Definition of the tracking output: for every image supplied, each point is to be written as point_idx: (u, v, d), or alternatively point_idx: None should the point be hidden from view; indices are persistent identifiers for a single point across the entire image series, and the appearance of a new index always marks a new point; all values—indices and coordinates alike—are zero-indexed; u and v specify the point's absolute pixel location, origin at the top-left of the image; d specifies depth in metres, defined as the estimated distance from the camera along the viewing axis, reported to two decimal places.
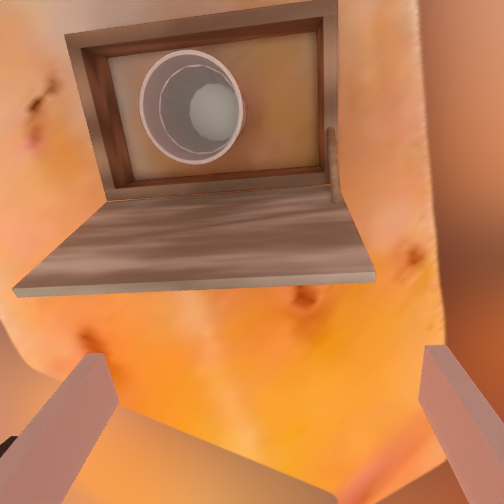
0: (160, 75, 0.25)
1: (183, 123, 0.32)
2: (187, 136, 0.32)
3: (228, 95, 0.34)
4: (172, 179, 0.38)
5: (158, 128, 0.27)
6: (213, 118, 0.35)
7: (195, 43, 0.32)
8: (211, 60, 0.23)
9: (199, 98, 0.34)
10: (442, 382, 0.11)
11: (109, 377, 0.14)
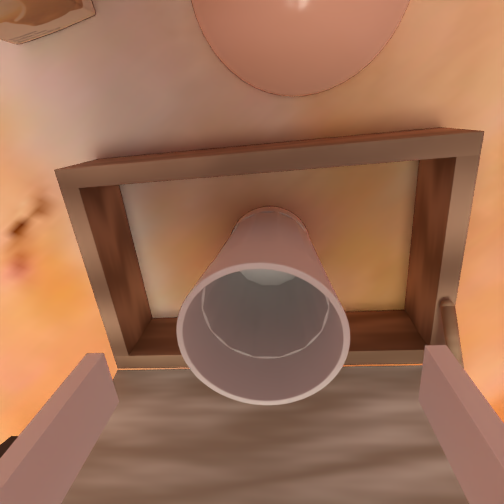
0: None
1: (227, 280, 0.23)
2: (234, 304, 0.22)
3: None
4: None
5: (201, 337, 0.17)
6: None
7: None
8: (303, 278, 0.14)
9: None
10: (442, 382, 0.11)
11: (109, 377, 0.14)
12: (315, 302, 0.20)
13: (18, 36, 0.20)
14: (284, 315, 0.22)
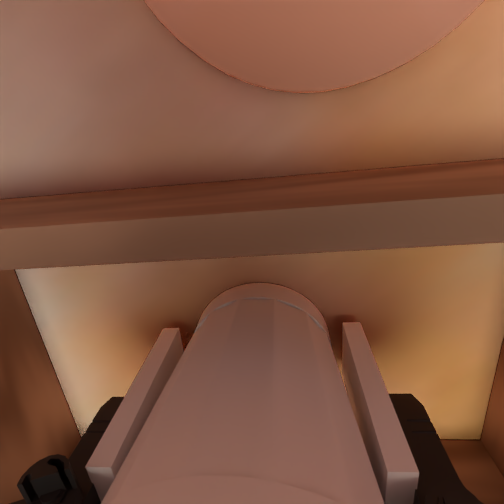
0: None
1: None
2: None
3: None
4: None
5: None
6: None
7: None
8: None
9: None
10: (348, 352, 0.13)
11: (182, 350, 0.15)
12: None
13: None
14: None
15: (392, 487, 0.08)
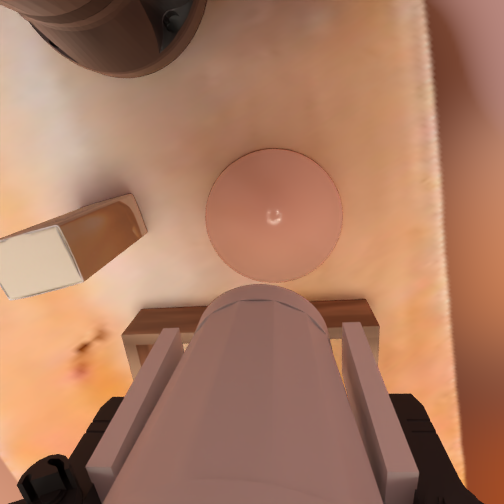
0: None
1: None
2: None
3: None
4: None
5: None
6: None
7: None
8: None
9: None
10: (348, 352, 0.13)
11: (182, 350, 0.15)
12: None
13: None
14: None
15: (392, 487, 0.08)
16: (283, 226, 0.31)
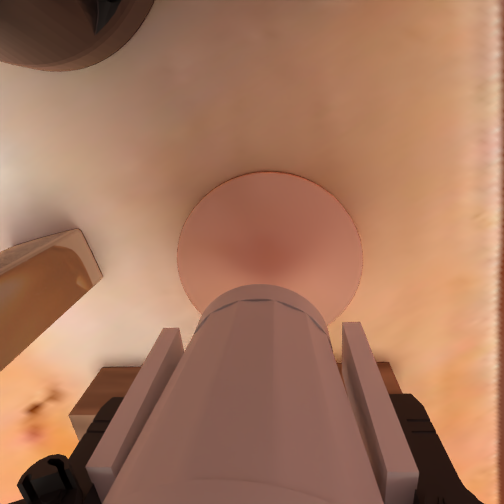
0: None
1: None
2: None
3: None
4: None
5: None
6: None
7: None
8: None
9: None
10: (348, 352, 0.13)
11: (182, 350, 0.15)
12: None
13: None
14: None
15: (392, 487, 0.08)
16: (281, 274, 0.23)
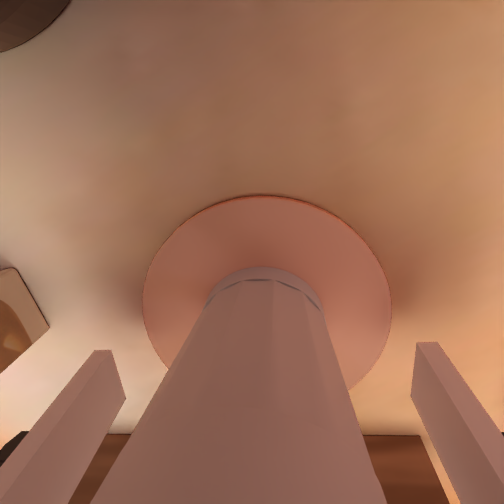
0: None
1: None
2: None
3: None
4: None
5: None
6: None
7: None
8: None
9: None
10: (432, 378, 0.11)
11: (116, 374, 0.14)
12: None
13: None
14: None
15: None
16: None
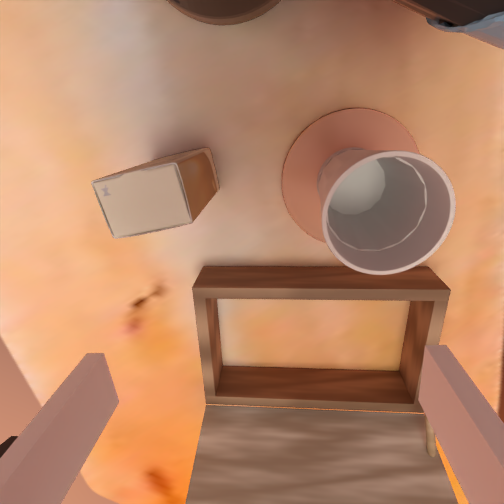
0: None
1: None
2: (332, 218, 0.27)
3: (372, 167, 0.29)
4: (262, 375, 0.40)
5: (327, 225, 0.23)
6: (349, 190, 0.30)
7: None
8: (429, 165, 0.19)
9: None
10: (442, 382, 0.11)
11: (109, 377, 0.14)
12: (404, 213, 0.25)
13: None
14: (372, 229, 0.27)
15: None
16: None
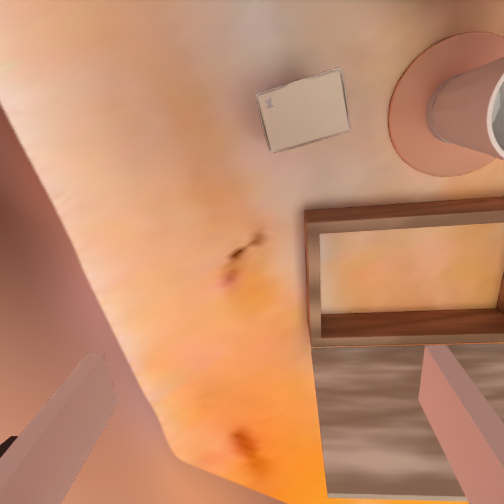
0: None
1: None
2: None
3: None
4: (360, 319, 0.41)
5: None
6: None
7: None
8: None
9: None
10: (442, 382, 0.11)
11: (109, 377, 0.14)
12: None
13: None
14: (500, 143, 0.28)
15: None
16: None
